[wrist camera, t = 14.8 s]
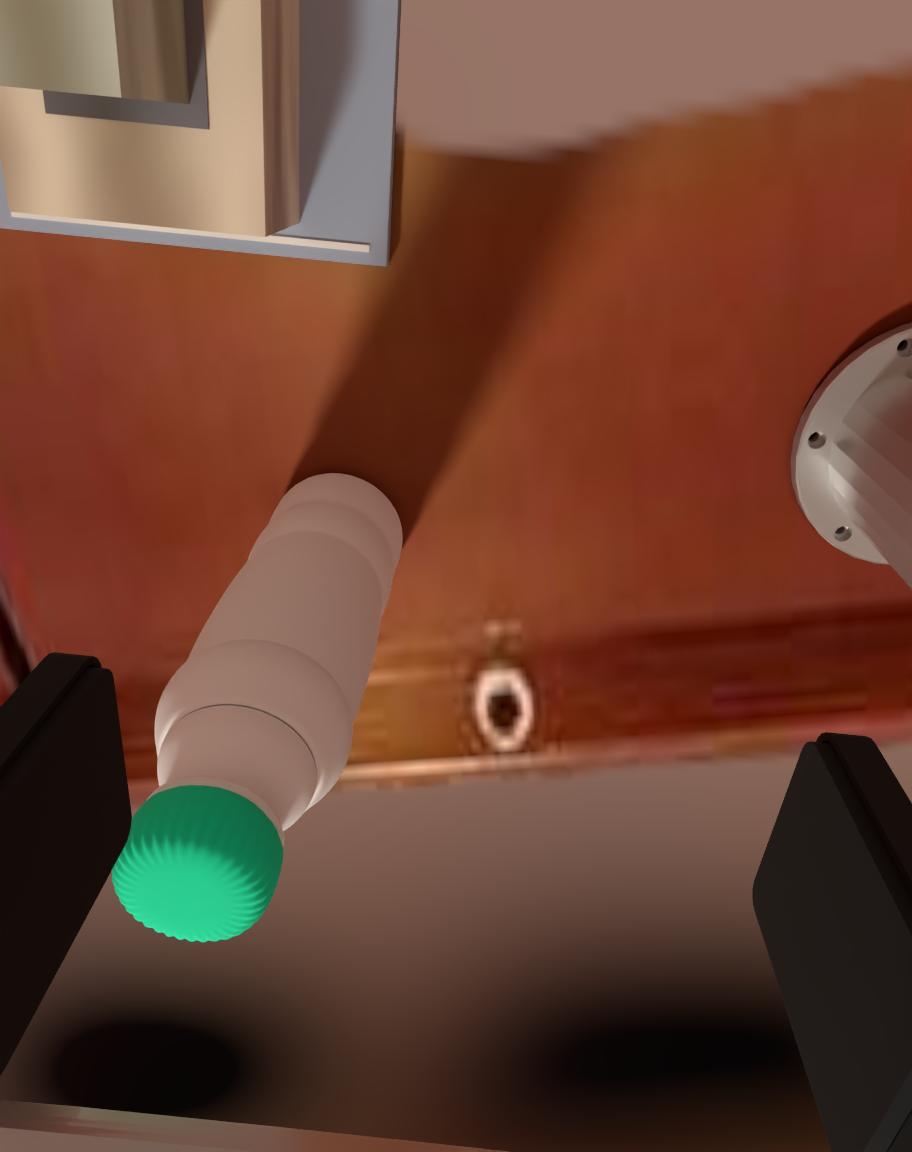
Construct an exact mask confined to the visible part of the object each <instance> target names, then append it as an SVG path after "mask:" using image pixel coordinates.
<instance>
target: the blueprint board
mask: <svg viewBox="0 0 912 1152" xmlns="http://www.w3.org/2000/svg"><path fill="white" fill-rule="evenodd" d="M400 16H401V0H299V173H300V223H298V224H295V225H293V226H291V227H288V228H286V229H284V230H281V231H279V232H276V233H274V234H272V235H269V236H267V237H259V236H249V235H239V234H229V233H219V232H209V231H198V230H188V229H178V228H168V227H158V226H148V225H138V224H128V223H118V222H108V221H98V220H88V219H78V218H68V217H58V216H48V215H38V214H28V213H18V212H9V209H8V202H7V196H6V189H5V183H4V176H3V170H2V163H1V157H0V228H5V229H15V230H25V231H35V232H45V233H55V234H65V235H75V236H85V237H95V238H105V239H115V240H125V241H135V242H145V243H155V244H165V245H175V246H185V247H195V248H205V249H215V250H225V251H235V252H245V253H255V254H265V255H275V256H285V257H295V258H305V259H315V260H325V261H335V262H345V263H355V264H365V265H375V266H385V267H387V265H388V264H389V254H390V233H391V211H392V189H393V168H394V146H395V124H396V102H397V80H398V59H399V37H400V36H399V35H400Z"/></svg>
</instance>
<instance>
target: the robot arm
mask: <svg viewBox="0 0 912 1152" xmlns="http://www.w3.org/2000/svg"><path fill="white" fill-rule="evenodd" d="M902 340H904V344H903V345H902V347H900V348H898V349H897V346H898V345H899V343H900V342H901V341H902ZM814 432H816V435H815V437H814V438H812V439H809V437H810V435H811V434H813V433H814ZM791 476H792V484H793V488H794V491H795V494H796V498H797V501H798V504H799V505H800V507H801V509H802V510H803V512H804V514H805V516H806V517H807V519H808V521H809V522H810V523H811V524H812V525H813V526H814V528H815V529H816V530H817V531H818V533H819V534H820V535H821V536H822V537H823V538H825V539H826V540H827V541H828V542H829V543H830V544H831V545H833V546H834V547H836V548H838V549H840V550H841V551H843V552H845V553H847V554H849V555H851V556H853V557H856V558H859V559H863V560H866V561H869V562H873V563H879V564H889V565H891V566H892V567H893V569H894V570H895V571H896V572H897V573H898V574H899V575H900V576H901V578H902V579H903V580H904V581H905V582H906V583H907V584H908V585H909V586H910V588H911V589H912V322H911V323H908V324H904V325H901V326H899V327H897V328H894V329H892V330H890V331H888V332H886V333H883V334H881V335H879V336H877V337H875V338H873V339H872V340H870V341H869V342H867V343H866V344H864V345H863V346H861V347H860V348H858V349H857V350H855V351H854V352H852V353H851V354H850V355H849V356H848V357H847V358H846V359H845V360H843V361H842V362H841V363H840V364H839V365H838V366H837V367H836V368H835V369H834V370H832V371H831V372H830V374H829V375H828V376H827V378H826V379H825V380H824V381H823V383H822V384H821V385H820V386H819V388H818V389H817V390H816V391H815V393H814V394H813V396H812V398H811V400H810V401H809V403H808V405H807V407H806V409H805V410H804V412H803V414H802V416H801V419H800V422H799V425H798V427H797V430H796V433H795V436H794V440H793V447H792V454H791ZM840 527H841V528H840ZM838 528H840V529H839V530H837V529H838ZM131 822H132V814H131V806H130V799H129V791H128V784H127V776H126V769H125V761H124V753H123V746H122V738H121V731H120V723H119V716H118V708H117V701H116V693H115V685H114V678H113V674H112V672H111V671H110V670H109V669H105V668H102V667H101V663H100V662H99V660H98V658H96V657H94V656H84V655H74V654H65V653H55V652H54V653H50V654H48V655H47V656H46V657H45V658H44V659H43V660H42V661H41V662H40V663H39V664H38V666H37V667H36V668H35V669H34V670H33V671H32V672H31V673H30V675H29V676H28V677H27V678H26V679H25V680H24V681H23V682H22V684H21V685H20V686H19V687H18V688H17V689H16V690H15V692H14V693H13V694H12V695H11V696H10V697H9V698H8V699H7V701H6V702H5V703H4V704H3V705H2V706H1V707H0V1075H1V1074H2V1072H3V1071H4V1069H5V1068H6V1065H7V1064H8V1062H9V1060H10V1058H11V1057H12V1055H13V1053H14V1051H15V1049H16V1047H17V1045H18V1043H19V1042H20V1040H21V1038H22V1036H23V1034H24V1032H25V1030H26V1029H27V1027H28V1025H29V1023H30V1021H31V1019H32V1017H33V1016H34V1014H35V1012H36V1010H37V1008H38V1006H39V1004H40V1003H41V1001H42V999H43V997H44V995H45V993H46V991H47V989H48V988H49V986H50V984H51V982H52V980H53V978H54V977H55V975H56V973H57V971H58V969H59V967H60V965H61V963H62V962H63V960H64V958H65V956H66V954H67V952H68V950H69V948H70V947H71V945H72V943H73V941H74V939H75V937H76V936H77V934H78V932H79V930H80V928H81V926H82V924H83V922H84V921H85V919H86V917H87V915H88V913H89V911H90V909H91V908H92V906H93V904H94V902H95V900H96V898H97V897H98V895H99V893H100V891H101V889H102V887H103V885H104V884H105V882H106V880H107V878H108V876H109V874H110V872H111V871H112V869H113V867H114V865H115V863H116V861H117V859H118V858H119V856H120V854H121V852H122V850H123V848H124V846H125V844H126V842H127V840H128V837H129V834H130V829H131ZM753 906H754V910H755V913H756V916H757V920H758V923H759V926H760V929H761V932H762V935H763V938H764V942H765V945H766V948H767V951H768V954H769V957H770V960H771V963H772V967H773V970H774V973H775V976H776V979H777V982H778V985H779V989H780V991H781V994H782V998H783V1001H784V1004H785V1007H786V1010H787V1013H788V1017H789V1020H790V1023H791V1026H792V1029H793V1032H794V1035H795V1039H796V1042H797V1045H798V1048H799V1051H800V1054H801V1057H802V1060H803V1064H804V1067H805V1070H806V1073H807V1076H808V1079H809V1082H810V1085H811V1088H812V1091H813V1095H814V1098H815V1101H816V1104H817V1107H818V1110H819V1113H820V1116H821V1120H822V1123H823V1126H824V1129H825V1132H826V1135H827V1139H828V1142H829V1145H830V1148H831V1151H832V1152H912V803H911V801H910V800H909V798H908V797H907V795H906V793H905V792H904V790H903V788H902V787H901V785H900V784H899V782H898V780H897V778H896V777H895V775H894V773H893V772H892V770H891V768H890V767H889V765H888V764H887V762H886V760H885V759H884V757H883V755H882V754H881V752H880V750H879V749H878V747H877V745H876V744H875V743H874V741H873V740H872V739H871V738H869V737H866V736H857V735H847V734H838V733H828V732H826V733H822V734H821V735H820V736H819V737H818V739H817V741H816V742H807V743H806V744H805V745H804V747H803V749H802V751H801V754H800V757H799V759H798V762H797V765H796V768H795V770H794V773H793V776H792V778H791V781H790V784H789V787H788V789H787V792H786V795H785V798H784V801H783V803H782V806H781V809H780V811H779V814H778V817H777V820H776V822H775V825H774V828H773V831H772V833H771V836H770V839H769V841H768V844H767V847H766V850H765V853H764V855H763V858H762V861H761V864H760V866H759V869H758V872H757V875H756V877H755V880H754V884H753ZM0 1152H506V1151H497V1150H488V1149H478V1148H469V1147H460V1146H451V1145H441V1144H432V1143H423V1142H413V1141H404V1140H395V1139H385V1138H376V1137H367V1136H357V1135H347V1134H338V1133H329V1132H320V1131H310V1130H300V1129H291V1128H282V1127H271V1126H262V1125H252V1124H242V1123H231V1122H222V1121H213V1120H203V1119H193V1118H183V1117H172V1116H163V1115H153V1114H144V1113H134V1112H124V1111H114V1110H104V1109H93V1108H84V1107H74V1106H61V1105H50V1104H38V1103H26V1102H14V1101H2V1100H0Z"/></svg>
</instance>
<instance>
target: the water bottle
mask: <svg viewBox="0 0 912 1152" xmlns="http://www.w3.org/2000/svg"><path fill="white" fill-rule="evenodd" d="M402 542H403V535H402V527H401V523H400V519H399V516H398V514H397V512H396V510H395V508H394V507H393V505H392V503H391V502H390V501H389V499H388V498H387V497H386V496H385V495H384V494H383V493H382V492H381V491H380V490H379V489H377V488H376V487H375V486H373V485H372V484H370V483H368V482H366V481H364V480H363V479H360V478H357V477H354V476H351V475H347V474H340V473H326V474H320V475H315V476H312V477H309V478H307V479H305V480H303V481H301V482H299V483H298V484H296V485H295V486H294V487H292V488H291V489H290V490H289V491H288V492H287V493H286V494H285V496H284V497H283V498H282V499H281V501H280V502H279V504H278V506H277V507H276V509H275V511H274V513H273V515H272V517H271V519H270V522H269V524H268V526H267V527H266V528H265V529H264V530H263V532H262V533H261V535H260V536H259V537H258V539H257V541H256V542H255V544H254V546H253V548H252V550H251V552H250V555H249V558H248V561H247V563H246V564H245V565H244V566H243V567H242V569H241V570H240V571H239V573H238V574H237V575H236V577H235V578H234V579H233V581H232V582H231V584H230V585H229V587H228V588H227V590H226V591H225V593H224V594H223V596H222V598H221V599H220V601H219V602H218V604H217V605H216V607H215V609H214V610H213V612H212V614H211V615H210V617H209V619H208V621H207V622H206V624H205V626H204V628H203V629H202V631H201V633H200V635H199V637H198V639H197V641H196V643H195V645H194V647H193V649H192V651H191V653H190V655H189V658H188V660H187V662H185V663H184V664H183V665H182V666H181V667H180V668H179V669H178V670H177V672H176V673H175V674H174V675H173V677H172V678H171V679H170V681H169V683H168V684H167V686H166V688H165V689H164V691H163V694H162V696H161V698H160V701H159V704H158V708H157V712H156V718H155V742H156V749H157V756H158V764H157V774H158V781H159V786H160V787H159V788H157V789H156V790H155V791H154V792H153V793H152V794H151V795H150V796H149V797H148V799H147V800H146V802H145V803H144V804H143V805H142V806H141V807H140V808H139V809H138V811H137V812H136V813H135V814H134V816H133V818H132V822H131V829H130V834H129V837H128V840H127V842H126V844H125V846H124V848H123V850H122V852H121V854H120V856H119V858H118V859H117V861H116V863H115V865H114V867H113V869H112V873H113V875H112V881H113V884H114V885H115V887H114V888H115V892H116V894H117V895H118V896H119V899H120V902H121V903H122V904H123V905H125V908H126V911H127V912H129V913H130V914H133V916H134V918H135V919H136V920H137V921H141V922H143V924H144V925H145V926H146V927H151V928H154V930H155V931H156V932H164V933H165V935H166V936H168V937H170V936H175V937H176V938H177V939H179V940H182V939H187V940H189V941H191V942H193V941H196V940H198V941H200V942H206V941H208V940H210V941H218V940H220V939H223V940H225V939H229V938H231V937H233V936H238V935H240V934H241V933H242V932H244V930H247V929H248V928H250V927H251V926H252V925H253V923H255V922H256V921H258V920H259V918H260V917H261V915H262V914H263V912H264V911H265V910H266V908H267V907H268V905H269V903H270V901H271V898H272V896H273V893H274V890H275V887H276V885H277V882H278V878H279V875H280V871H281V866H282V862H283V847H284V842H285V839H284V833H283V831H284V830H286V829H287V828H289V827H290V826H291V825H292V824H294V823H295V822H296V821H297V820H298V819H299V818H300V816H301V815H302V814H303V813H304V812H305V811H306V810H308V809H309V808H310V807H311V806H313V805H314V804H315V803H316V802H318V801H319V800H320V799H321V798H322V797H323V796H325V795H326V794H327V793H328V791H329V790H330V789H331V788H332V787H333V786H334V784H335V783H336V782H337V780H338V779H339V777H340V775H341V774H342V772H343V770H344V768H345V766H346V763H347V760H348V758H349V754H350V750H351V745H352V737H353V723H354V720H355V718H356V715H357V712H358V710H359V707H360V704H361V701H362V698H363V695H364V691H365V688H366V685H367V681H368V678H369V674H370V670H371V666H372V662H373V658H374V654H375V650H376V645H377V640H378V635H379V629H380V621H381V616H382V614H383V612H384V610H385V607H386V605H387V602H388V599H389V595H390V591H391V587H392V579H393V575H394V573H395V570H396V568H397V565H398V562H399V558H400V554H401V550H402Z"/></svg>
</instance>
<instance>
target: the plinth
mask: <svg viewBox="0 0 912 1152" xmlns="http://www.w3.org/2000/svg"><path fill="white" fill-rule="evenodd" d="M183 3H184V20H185V37H186V54H187V71H188V88H189V104H182V103H172V102H161V101H151V100H141V99H130V98H120V97H110V96H99V95H89V94H78V93H68V92H58V91H48V90H37V89H27V88H17V87H7V86H0V157H1V163H2V170H3V176H4V183H5V189H6V196H7V202H8V209H9V212H18V213H28V214H38V215H48V216H58V217H68V218H78V219H88V220H98V221H108V222H118V223H128V224H138V225H148V226H158V227H168V228H178V229H188V230H198V231H209V232H219V233H229V234H239V235H249V236H259V237H267V236H269V235H272V234H274V233H276V232H279V231H281V230H284V229H286V228H288V227H291V226H293V225H295V224H298V223H300V173H299V0H183Z"/></svg>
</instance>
